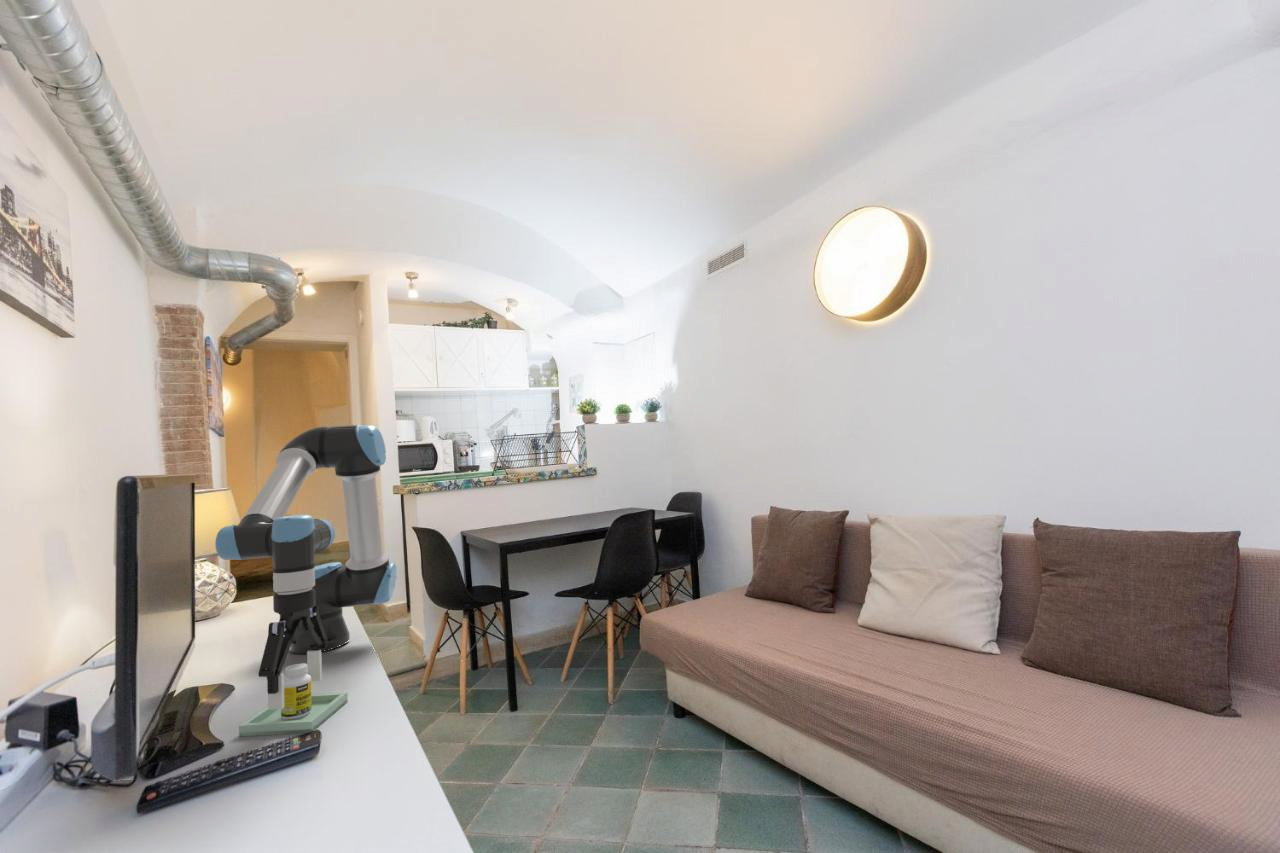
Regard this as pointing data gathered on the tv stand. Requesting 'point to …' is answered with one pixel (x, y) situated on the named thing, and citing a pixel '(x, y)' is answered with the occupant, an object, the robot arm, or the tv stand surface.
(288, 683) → the supplement bottle
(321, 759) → the tv stand surface
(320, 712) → the tray
